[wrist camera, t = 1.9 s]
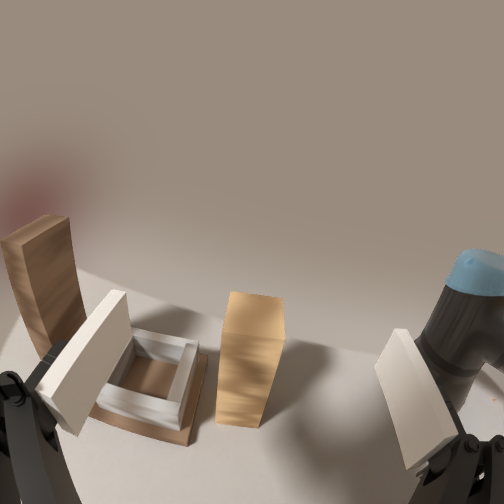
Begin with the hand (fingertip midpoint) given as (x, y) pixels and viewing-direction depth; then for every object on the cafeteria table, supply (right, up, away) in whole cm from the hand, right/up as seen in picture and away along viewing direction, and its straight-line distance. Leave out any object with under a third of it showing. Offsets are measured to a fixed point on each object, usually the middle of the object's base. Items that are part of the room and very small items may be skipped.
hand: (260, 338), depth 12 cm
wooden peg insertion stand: (-17, -13, +17) cm, 28 cm away
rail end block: (-2, -15, +17) cm, 23 cm away
